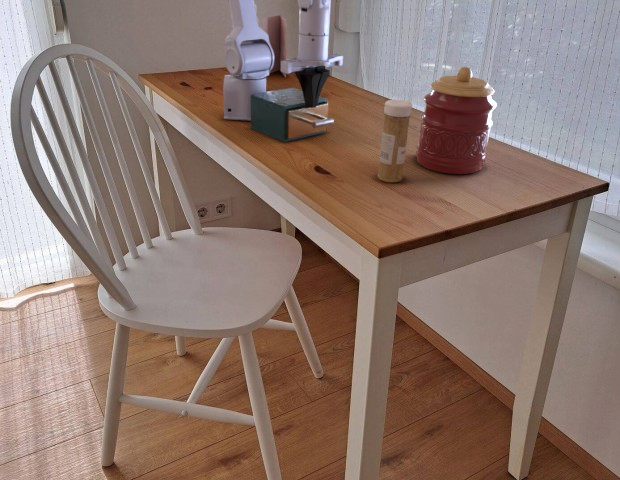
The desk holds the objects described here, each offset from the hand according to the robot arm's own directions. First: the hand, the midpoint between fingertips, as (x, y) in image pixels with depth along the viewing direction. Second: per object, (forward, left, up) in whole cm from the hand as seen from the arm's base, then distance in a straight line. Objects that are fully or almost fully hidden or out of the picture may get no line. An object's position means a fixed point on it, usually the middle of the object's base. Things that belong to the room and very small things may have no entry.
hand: (310, 106), depth 119 cm
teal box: (-5, +5, -7) cm, 10 cm away
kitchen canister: (+28, -10, -7) cm, 30 cm away
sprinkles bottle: (+16, -20, -7) cm, 26 cm away
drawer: (-2, +2, -6) cm, 7 cm away
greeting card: (-12, +60, -7) cm, 62 cm away
